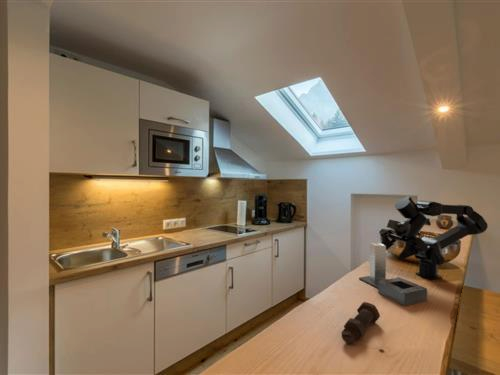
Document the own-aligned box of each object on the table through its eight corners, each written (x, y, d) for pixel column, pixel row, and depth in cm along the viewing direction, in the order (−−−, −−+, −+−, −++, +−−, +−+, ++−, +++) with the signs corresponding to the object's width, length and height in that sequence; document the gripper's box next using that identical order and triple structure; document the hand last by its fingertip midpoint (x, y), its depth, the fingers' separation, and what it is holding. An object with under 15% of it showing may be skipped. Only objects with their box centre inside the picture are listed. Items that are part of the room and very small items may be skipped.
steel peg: (380, 278, 98) (380, 242, 98) (385, 282, 94) (385, 245, 94) (369, 278, 98) (370, 242, 98) (374, 282, 94) (375, 245, 94)
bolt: (344, 351, 60) (366, 323, 71) (362, 350, 57) (383, 321, 68) (332, 326, 62) (356, 302, 73) (349, 323, 59) (372, 299, 70)
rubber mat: (376, 276, 102) (376, 274, 102) (396, 284, 94) (396, 283, 94) (358, 279, 99) (358, 277, 99) (377, 288, 91) (377, 286, 91)
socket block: (399, 288, 91) (399, 277, 91) (426, 300, 81) (427, 288, 81) (377, 292, 87) (378, 281, 87) (404, 306, 78) (404, 293, 78)
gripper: (382, 209, 107) (360, 237, 105) (421, 215, 89) (395, 249, 87) (398, 226, 109) (376, 254, 107) (439, 236, 91) (414, 269, 89)
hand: (388, 256), depth 97 cm, fingers open, 9 cm apart
